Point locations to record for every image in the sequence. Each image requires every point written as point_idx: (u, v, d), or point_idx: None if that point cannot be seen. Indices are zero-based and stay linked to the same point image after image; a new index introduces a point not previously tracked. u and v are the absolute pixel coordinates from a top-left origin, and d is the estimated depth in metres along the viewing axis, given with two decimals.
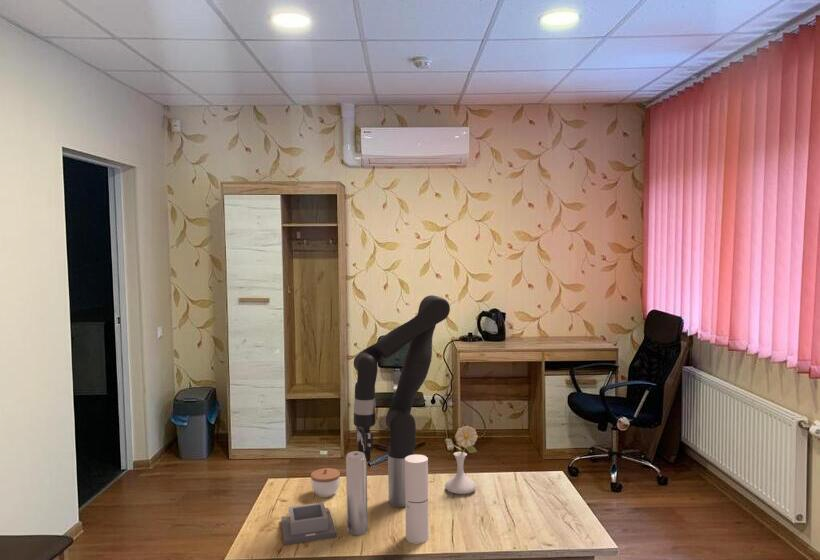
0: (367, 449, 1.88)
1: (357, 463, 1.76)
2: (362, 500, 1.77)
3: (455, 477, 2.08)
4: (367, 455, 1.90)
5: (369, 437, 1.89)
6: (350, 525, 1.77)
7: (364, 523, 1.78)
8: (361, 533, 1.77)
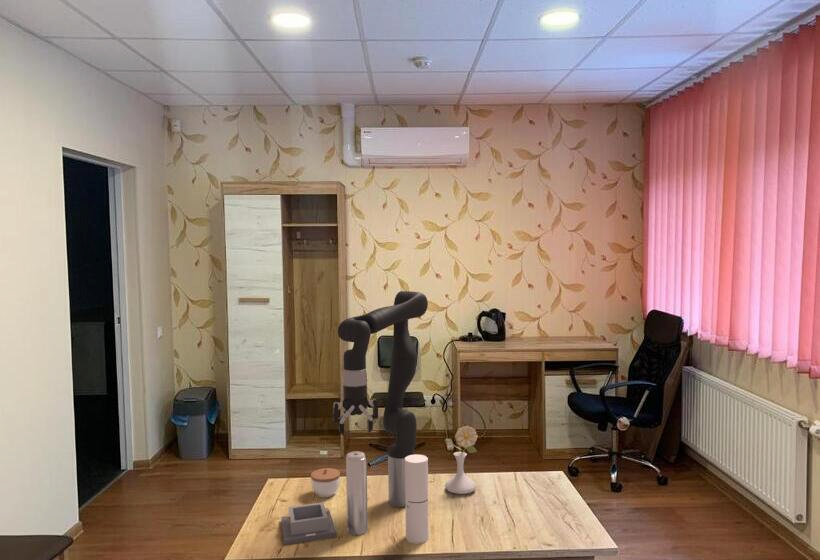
0: None
1: (357, 463, 1.76)
2: (362, 500, 1.77)
3: (455, 477, 2.08)
4: None
5: None
6: (350, 525, 1.77)
7: (364, 523, 1.78)
8: (361, 533, 1.77)
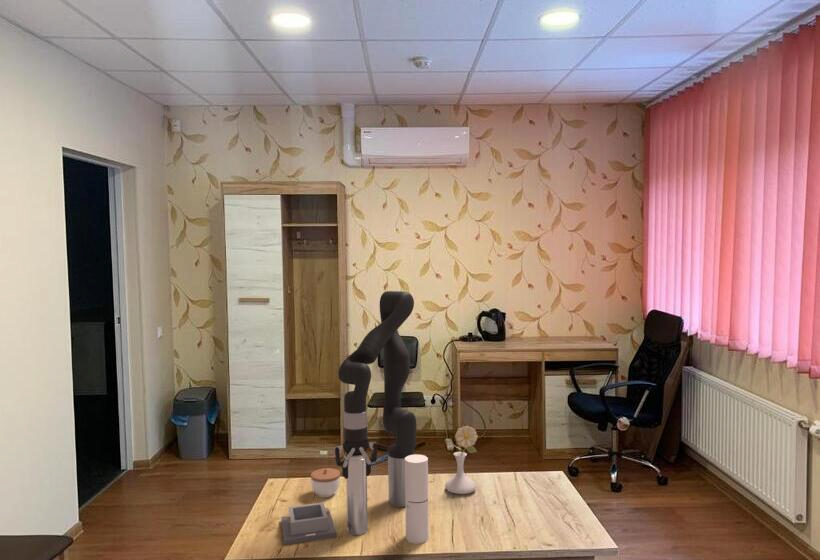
0: None
1: (357, 463, 1.76)
2: (362, 500, 1.77)
3: (455, 477, 2.08)
4: None
5: None
6: (350, 525, 1.77)
7: (364, 523, 1.78)
8: (361, 533, 1.77)
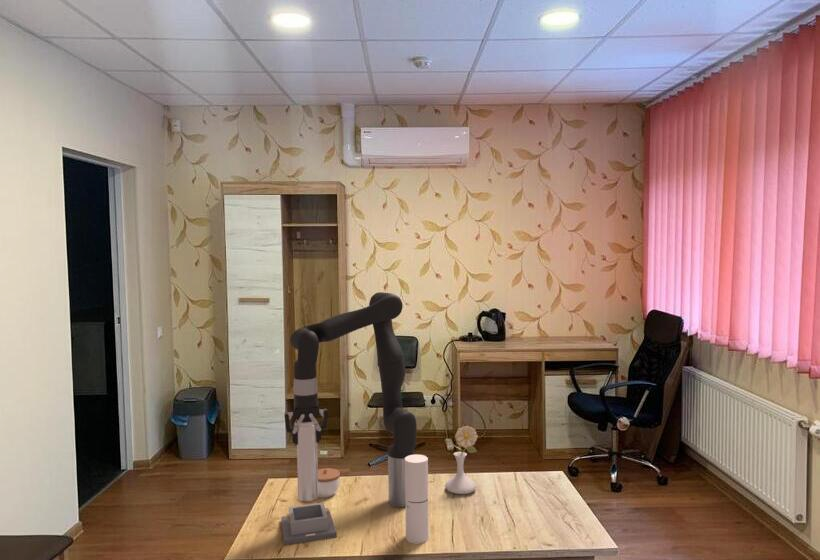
0: None
1: (306, 429, 1.77)
2: (312, 466, 1.78)
3: (455, 477, 2.08)
4: (320, 434, 1.81)
5: None
6: (300, 491, 1.78)
7: (315, 489, 1.79)
8: (311, 499, 1.78)
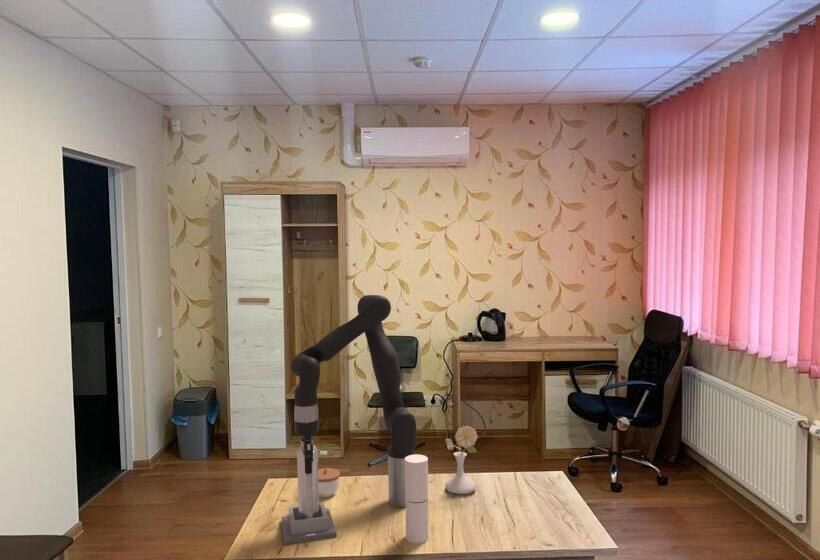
0: None
1: None
2: None
3: (455, 477, 2.08)
4: None
5: None
6: (315, 517, 1.79)
7: None
8: None
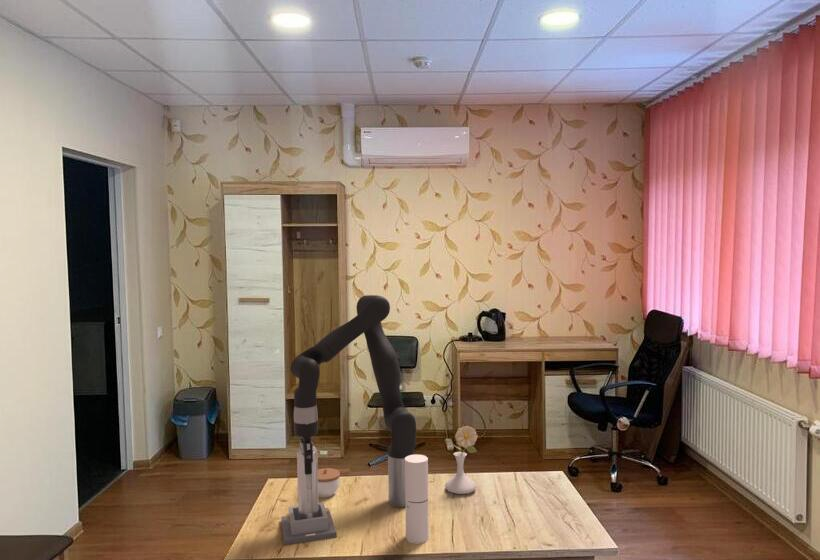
0: None
1: None
2: None
3: (455, 477, 2.08)
4: None
5: None
6: None
7: None
8: None
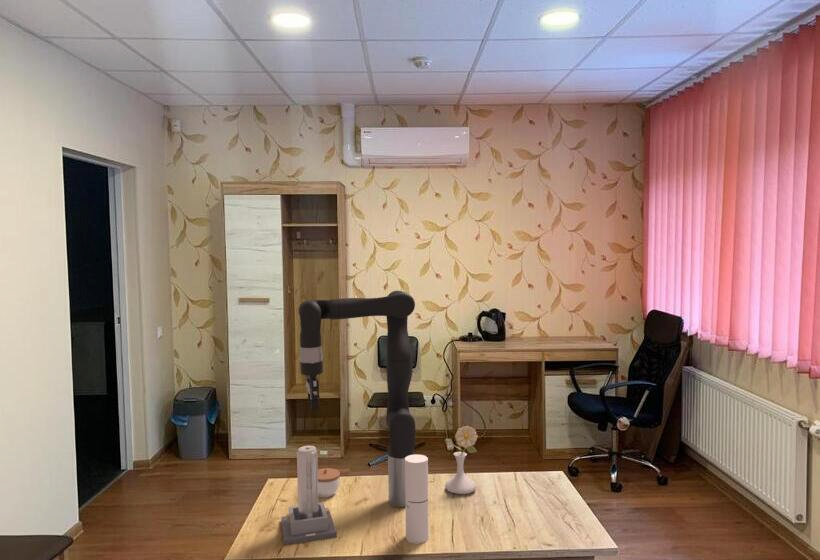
0: None
1: None
2: None
3: (455, 477, 2.08)
4: None
5: None
6: None
7: None
8: None
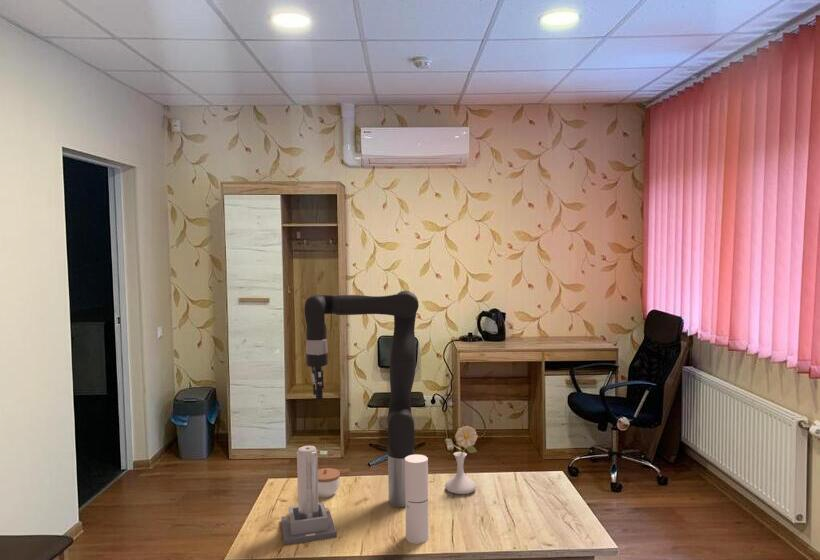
0: None
1: None
2: None
3: (455, 477, 2.08)
4: None
5: None
6: None
7: None
8: None
